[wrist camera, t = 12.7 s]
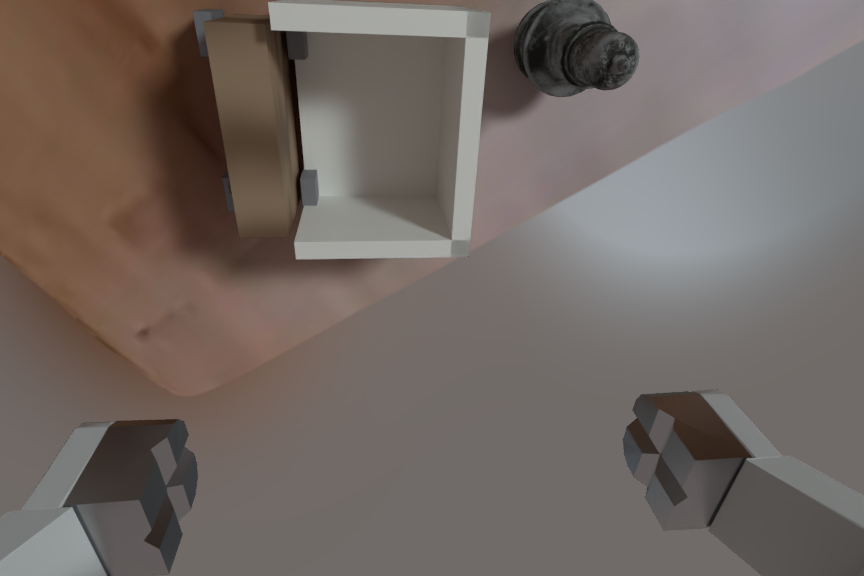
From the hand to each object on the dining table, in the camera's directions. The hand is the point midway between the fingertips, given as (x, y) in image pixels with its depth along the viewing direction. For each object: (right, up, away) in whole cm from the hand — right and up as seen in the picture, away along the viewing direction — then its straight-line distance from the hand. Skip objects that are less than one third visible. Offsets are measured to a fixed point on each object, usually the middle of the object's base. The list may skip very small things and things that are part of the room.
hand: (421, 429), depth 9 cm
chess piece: (+9, +20, +26) cm, 34 cm away
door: (-11, +15, +26) cm, 32 cm away
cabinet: (-6, +15, +27) cm, 31 cm away
